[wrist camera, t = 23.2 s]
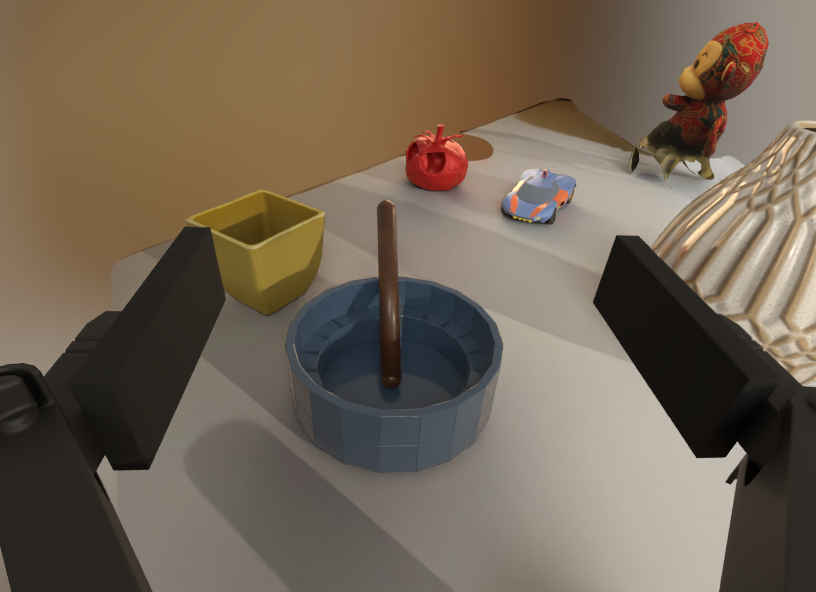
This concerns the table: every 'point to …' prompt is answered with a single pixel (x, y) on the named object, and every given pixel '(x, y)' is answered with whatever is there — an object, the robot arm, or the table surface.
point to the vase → (758, 249)
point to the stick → (388, 296)
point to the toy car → (538, 196)
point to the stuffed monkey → (706, 99)
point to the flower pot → (265, 247)
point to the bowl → (420, 367)
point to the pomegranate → (435, 162)
